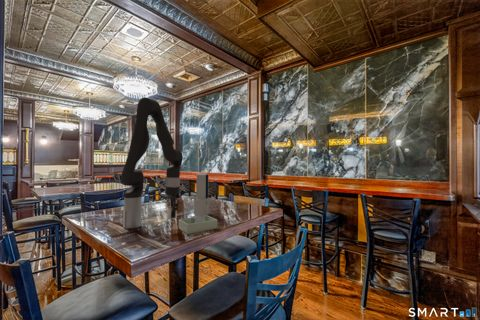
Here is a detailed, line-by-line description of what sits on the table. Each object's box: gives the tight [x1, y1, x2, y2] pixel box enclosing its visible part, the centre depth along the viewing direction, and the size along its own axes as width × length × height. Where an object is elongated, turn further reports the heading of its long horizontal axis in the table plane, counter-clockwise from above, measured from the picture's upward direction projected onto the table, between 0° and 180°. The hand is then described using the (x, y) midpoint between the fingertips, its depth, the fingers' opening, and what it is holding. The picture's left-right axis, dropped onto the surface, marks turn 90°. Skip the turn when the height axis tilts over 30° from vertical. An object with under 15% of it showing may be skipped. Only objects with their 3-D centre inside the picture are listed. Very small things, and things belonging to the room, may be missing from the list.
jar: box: [166, 205, 177, 220], centre depth 119 cm, size 5×5×7 cm
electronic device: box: [193, 173, 210, 216], centre depth 157 cm, size 12×8×30 cm, turn 168°
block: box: [190, 215, 205, 224], centre depth 124 cm, size 6×6×6 cm
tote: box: [178, 215, 219, 235], centre depth 124 cm, size 18×13×5 cm
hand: (171, 216), depth 119 cm, fingers closed on jar, 4 cm apart
